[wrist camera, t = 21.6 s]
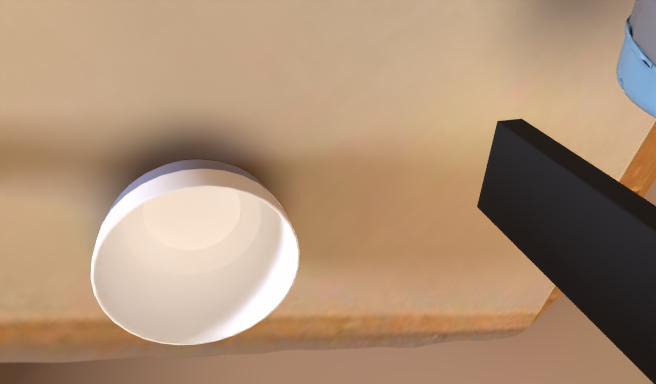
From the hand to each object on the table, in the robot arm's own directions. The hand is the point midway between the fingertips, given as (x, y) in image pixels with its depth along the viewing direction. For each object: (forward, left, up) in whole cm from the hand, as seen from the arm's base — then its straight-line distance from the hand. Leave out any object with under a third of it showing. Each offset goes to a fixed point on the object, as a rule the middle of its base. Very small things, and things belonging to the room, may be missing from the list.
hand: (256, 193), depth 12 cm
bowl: (+1, +20, -31) cm, 37 cm away
